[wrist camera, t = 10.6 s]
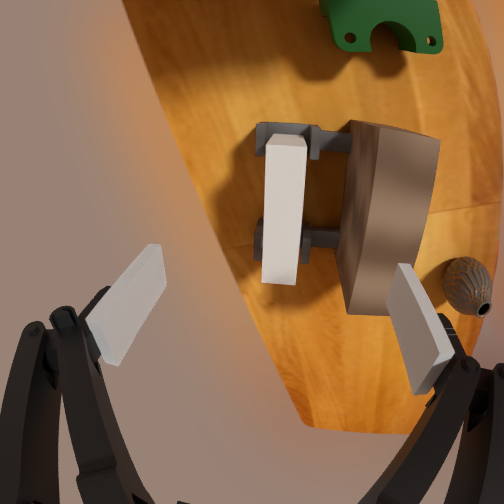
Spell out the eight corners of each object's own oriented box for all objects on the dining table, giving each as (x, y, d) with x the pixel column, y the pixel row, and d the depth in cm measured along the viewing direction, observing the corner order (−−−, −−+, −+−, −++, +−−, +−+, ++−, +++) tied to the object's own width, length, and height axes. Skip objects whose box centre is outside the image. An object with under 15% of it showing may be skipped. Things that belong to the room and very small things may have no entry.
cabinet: (261, 112, 28) (244, 115, 18) (394, 126, 26) (440, 140, 17) (258, 249, 36) (243, 306, 26) (373, 258, 34) (397, 316, 24)
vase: (469, 239, 31) (502, 275, 23) (479, 275, 33) (507, 312, 25) (430, 265, 33) (456, 306, 26) (443, 299, 35) (465, 340, 28)
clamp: (339, 47, 27) (318, 53, 21) (329, 3, 23) (305, -5, 17) (439, 52, 21) (450, 59, 15) (432, 4, 17) (442, -5, 11)
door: (268, 133, 28) (259, 144, 20) (303, 135, 28) (307, 147, 20) (265, 238, 34) (256, 281, 26) (295, 240, 34) (295, 285, 26)
